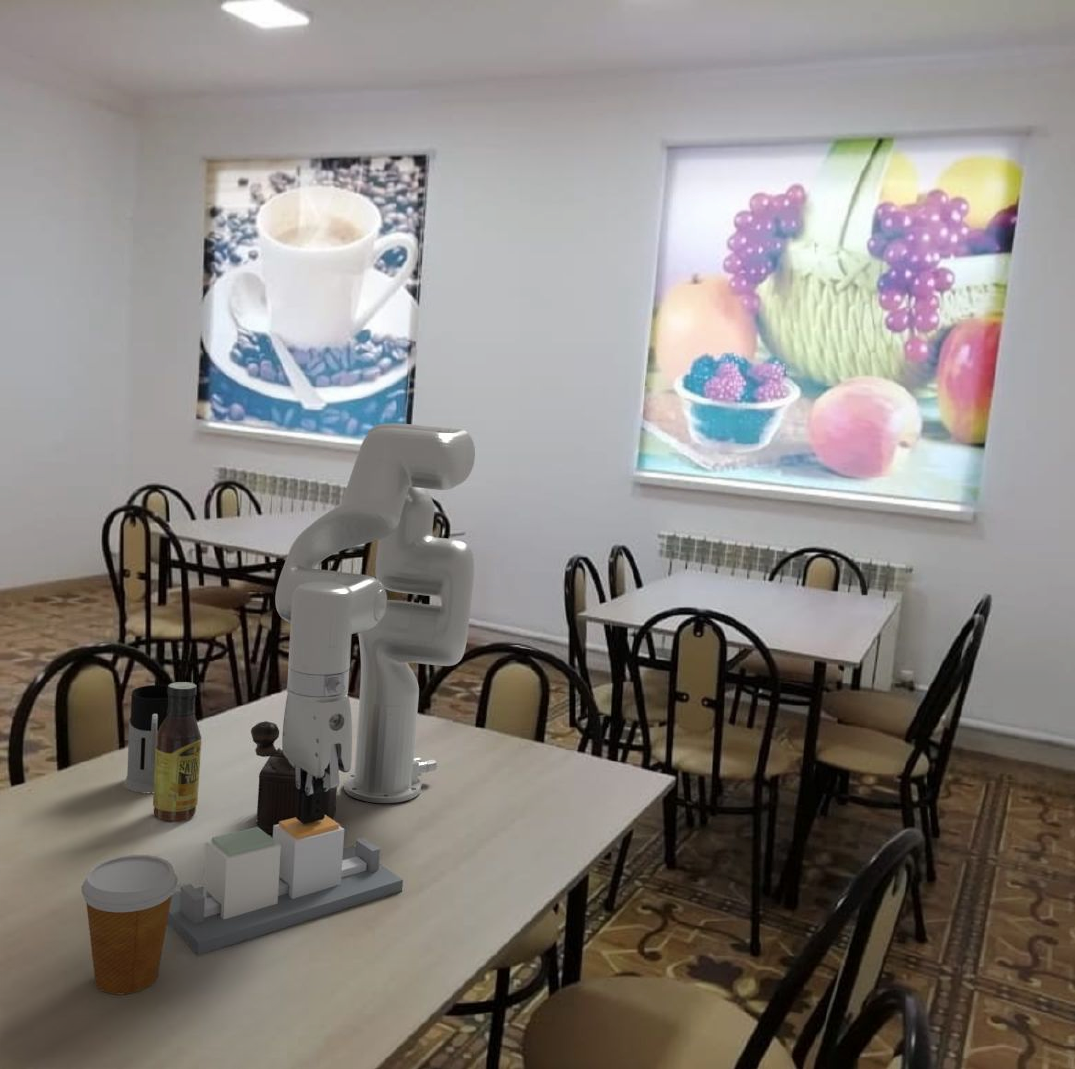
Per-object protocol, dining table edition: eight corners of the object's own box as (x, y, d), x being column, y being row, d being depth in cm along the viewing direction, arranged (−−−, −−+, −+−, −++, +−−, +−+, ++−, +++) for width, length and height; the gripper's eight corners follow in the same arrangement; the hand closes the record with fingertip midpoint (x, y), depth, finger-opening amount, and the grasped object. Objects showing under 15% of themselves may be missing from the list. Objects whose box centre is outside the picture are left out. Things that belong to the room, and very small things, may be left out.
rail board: (353, 855, 142) (357, 790, 141) (402, 890, 133) (407, 821, 132) (155, 910, 123) (158, 835, 122) (198, 955, 114) (201, 875, 113)
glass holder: (182, 771, 167) (186, 683, 165) (181, 806, 153) (185, 710, 151) (125, 773, 164) (129, 683, 162) (119, 808, 150) (122, 711, 149)
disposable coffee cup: (96, 952, 113) (99, 851, 112) (183, 955, 114) (188, 854, 112) (64, 1002, 104) (67, 892, 102) (159, 1005, 105) (164, 896, 103)
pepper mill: (265, 806, 156) (271, 693, 154) (337, 811, 157) (344, 698, 154) (240, 850, 141) (247, 726, 138) (320, 855, 141) (328, 731, 139)
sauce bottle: (182, 827, 146) (188, 694, 144) (143, 820, 147) (148, 688, 145) (206, 810, 153) (212, 683, 150) (168, 803, 154) (173, 677, 151)
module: (318, 867, 134) (321, 809, 133) (340, 884, 130) (344, 824, 129) (270, 881, 130) (273, 821, 129) (292, 899, 126) (295, 837, 125)
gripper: (376, 693, 124) (367, 834, 126) (314, 662, 135) (306, 793, 137) (322, 702, 119) (314, 849, 121) (262, 669, 130) (255, 805, 132)
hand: (310, 819), depth 129 cm, fingers closed
